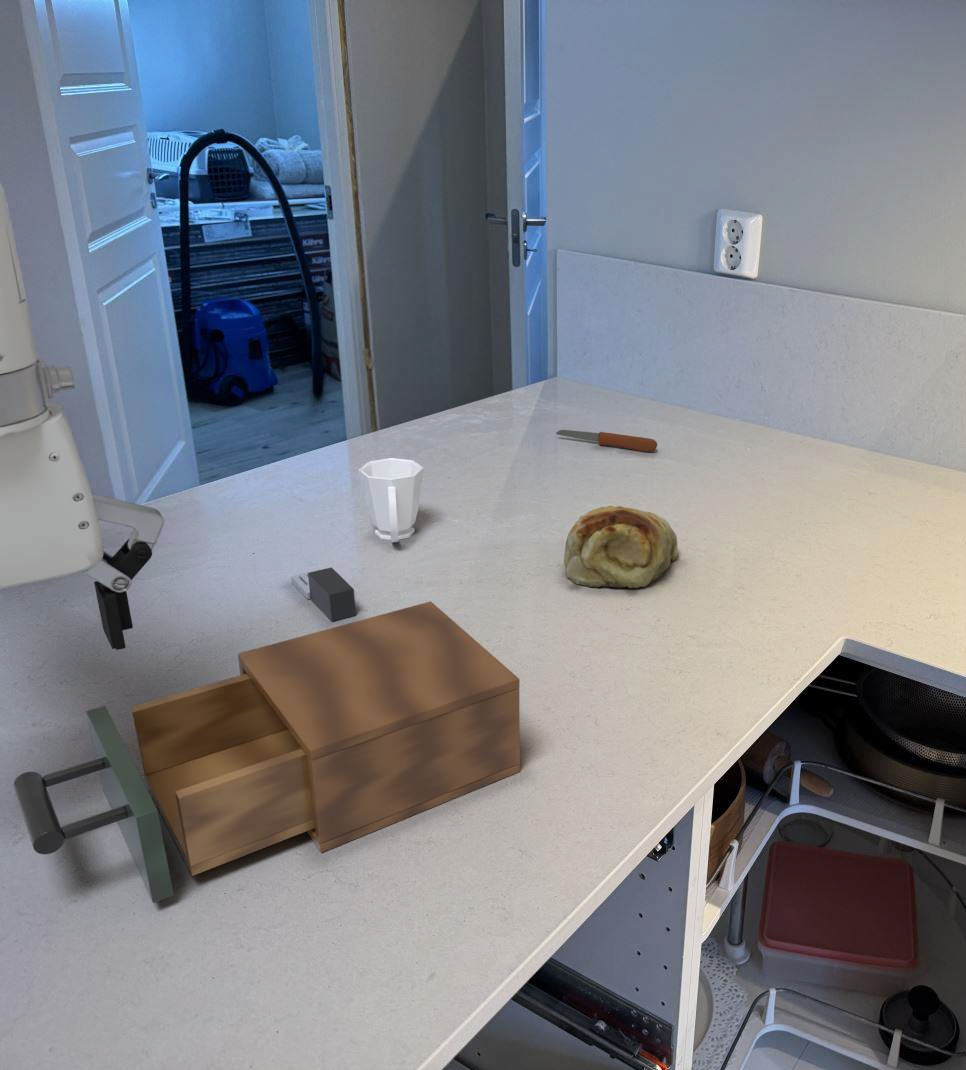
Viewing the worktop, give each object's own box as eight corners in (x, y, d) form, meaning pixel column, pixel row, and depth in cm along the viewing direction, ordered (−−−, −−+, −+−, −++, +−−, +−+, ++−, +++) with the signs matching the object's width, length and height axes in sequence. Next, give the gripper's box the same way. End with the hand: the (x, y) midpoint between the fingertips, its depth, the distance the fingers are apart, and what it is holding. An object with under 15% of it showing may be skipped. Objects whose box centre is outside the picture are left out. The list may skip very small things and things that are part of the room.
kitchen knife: (657, 451, 149) (658, 438, 148) (655, 454, 148) (655, 441, 147) (557, 437, 151) (557, 425, 150) (554, 440, 150) (554, 427, 149)
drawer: (59, 941, 59) (36, 851, 56) (19, 817, 68) (-2, 735, 65) (377, 814, 71) (371, 735, 68) (307, 723, 80) (299, 650, 77)
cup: (425, 519, 120) (422, 456, 116) (428, 554, 111) (425, 488, 108) (363, 522, 118) (359, 458, 114) (362, 558, 109) (357, 490, 106)
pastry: (581, 600, 104) (582, 531, 101) (546, 551, 114) (547, 487, 111) (702, 583, 110) (707, 517, 107) (659, 538, 120) (663, 476, 117)
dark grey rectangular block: (359, 614, 98) (356, 587, 97) (328, 623, 96) (326, 595, 95) (320, 576, 105) (318, 550, 103) (291, 583, 103) (288, 557, 101)
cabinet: (321, 853, 68) (309, 750, 65) (250, 747, 78) (237, 653, 74) (520, 771, 78) (519, 678, 74) (434, 686, 87) (431, 600, 84)
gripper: (126, 364, 62) (165, 602, 69) (-246, 396, 52) (-156, 673, 59) (155, 395, 57) (194, 650, 64) (-251, 438, 47) (-152, 736, 54)
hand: (27, 661), depth 62 cm, fingers open, 9 cm apart
